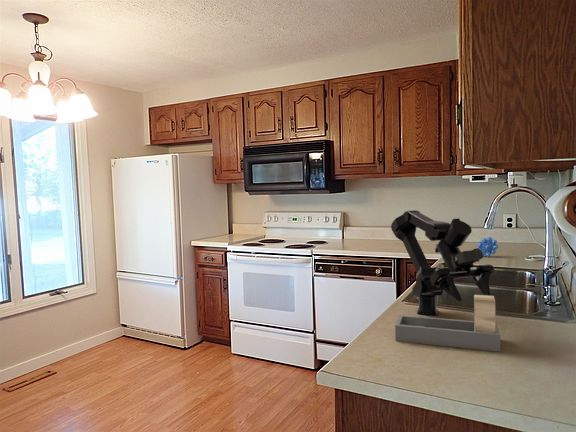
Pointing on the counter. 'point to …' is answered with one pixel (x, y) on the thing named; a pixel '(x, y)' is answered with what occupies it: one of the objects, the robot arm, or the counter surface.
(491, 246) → the grapes
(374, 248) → the counter surface
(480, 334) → the box
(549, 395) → the counter surface
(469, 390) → the counter surface
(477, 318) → the birch block
